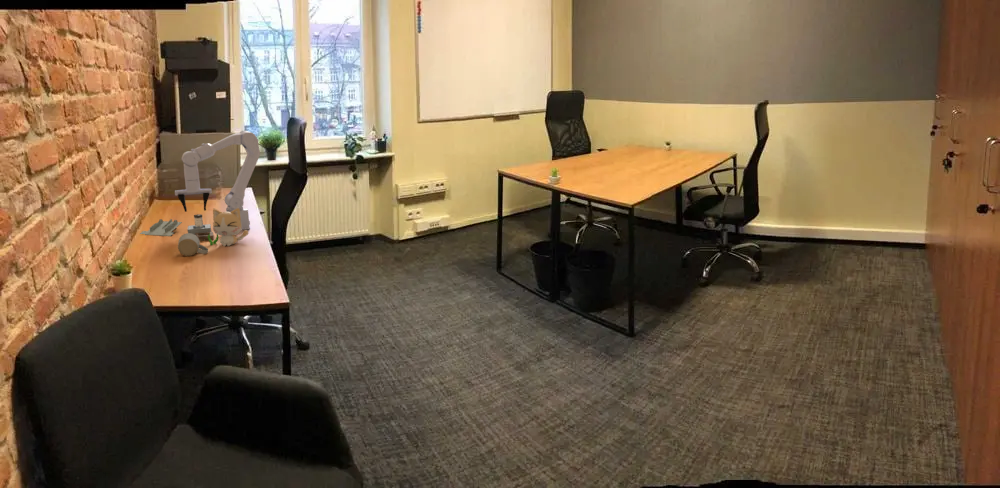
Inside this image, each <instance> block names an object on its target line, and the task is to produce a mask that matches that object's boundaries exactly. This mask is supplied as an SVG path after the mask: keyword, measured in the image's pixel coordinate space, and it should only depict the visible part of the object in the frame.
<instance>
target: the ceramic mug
mask: <svg viewBox="0 0 1000 488" xmlns="http://www.w3.org/2000/svg"><path fill="white" fill-rule="evenodd" d="M177 249H178V252H179V253H180V254H181V255H182V256H184V257H191V256H194V255H195V254H198V253H199V254H202V255H205V254H206V255H207V254H208V253H209V248H208V247H206V246H205V245H202V244H201V241H199V238H198V237H197V236H196V235H194V234H191V233H188V232H187V233H183V234H182V235H181V236H179V239H178V244H177Z"/></svg>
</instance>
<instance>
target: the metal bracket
mask: <svg viewBox="0 0 1000 488" xmlns="http://www.w3.org/2000/svg"><path fill="white" fill-rule="evenodd" d="M181 224H183V222H182V221H178V220H177V219H174V220H173V219H169V221H166V220H163V219H162V218H161V219H159V220H158V222H156V223H153V224H152V225H151V226H150V227H149V229H148V230H142V231H141V232H140V233H139V234H145V235H144V236H155V237H156V236H157V237H158V236H159V237H160V236H161V237H172V236H173V235H174V234H175V232H174V230H177V229H178V227H180V225H181Z"/></svg>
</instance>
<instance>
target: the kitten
mask: <svg viewBox="0 0 1000 488" xmlns="http://www.w3.org/2000/svg"><path fill="white" fill-rule="evenodd" d="M212 209H213V210H212V217H213V218H212V219H213V222H212V232H213V233H215V234H216V238H215V239H213V240H211V239H210V233H209V235H208V240H207V241H208V242H209V246H213V245H217V242H218V241H219V243H220V244H221V245H222V246H223V247H226V246H227V247H230V246H232V245H235V244H236V243H237V242H238V241H241V240H243V238H245V237H246V236H248V234H249V230H248V229H245V230H241V221H240V220H241V217H240V209H239V208H237V209H235V210H233V211H232V212H226V211H221V210H218V209H216V208H212ZM241 231H243V232H242V233H241ZM240 233H241V235H239V236H236V235H238V234H240ZM219 236H220V237H219Z"/></svg>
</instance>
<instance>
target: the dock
mask: <svg viewBox="0 0 1000 488" xmlns="http://www.w3.org/2000/svg"><path fill="white" fill-rule="evenodd" d="M186 230H187V233H191V234H194V235H195V233H203V232H212V225H211V224H210V223H208V224H203V228H195V224H192V225H187V229H186Z"/></svg>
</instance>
